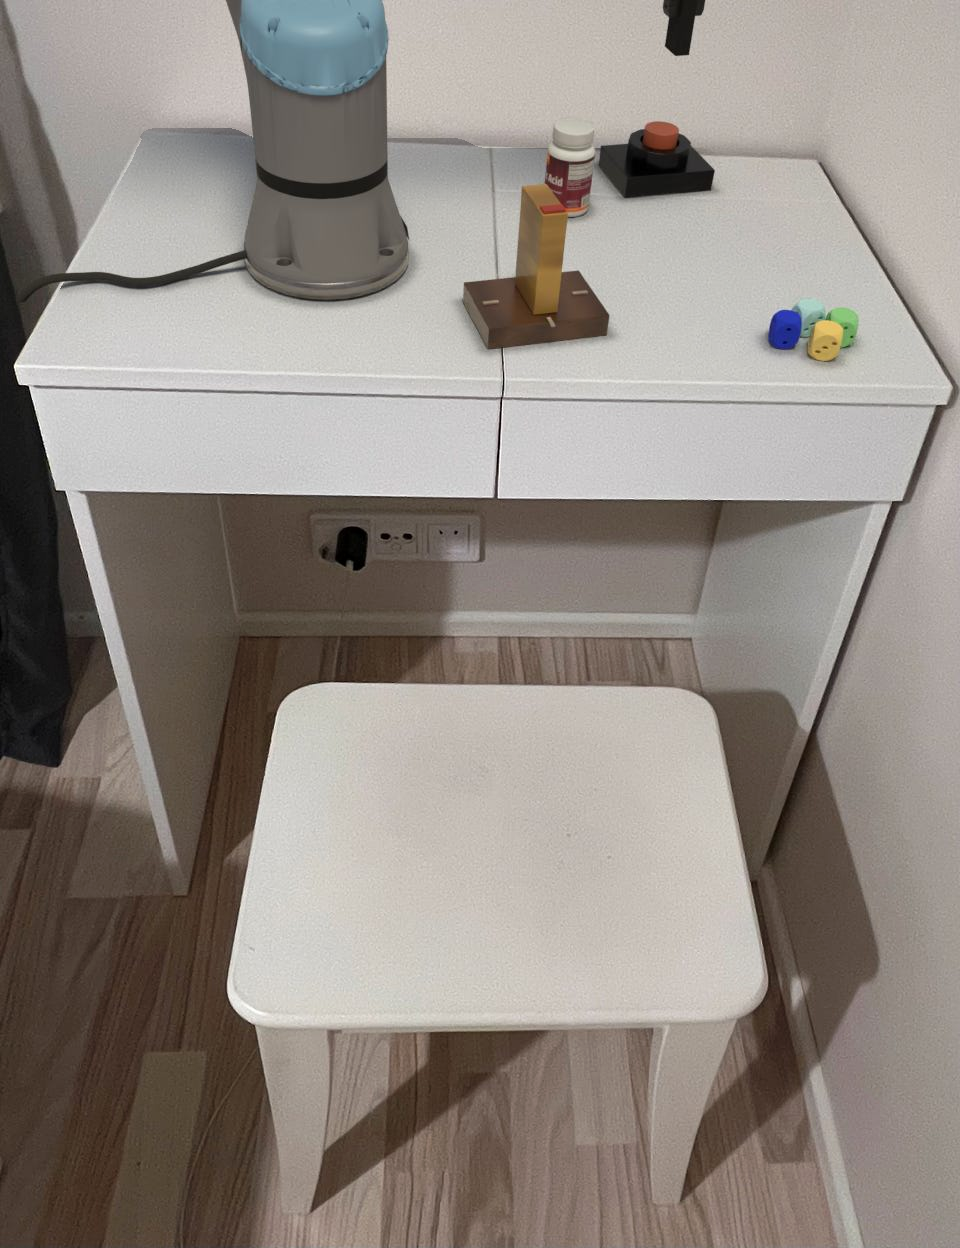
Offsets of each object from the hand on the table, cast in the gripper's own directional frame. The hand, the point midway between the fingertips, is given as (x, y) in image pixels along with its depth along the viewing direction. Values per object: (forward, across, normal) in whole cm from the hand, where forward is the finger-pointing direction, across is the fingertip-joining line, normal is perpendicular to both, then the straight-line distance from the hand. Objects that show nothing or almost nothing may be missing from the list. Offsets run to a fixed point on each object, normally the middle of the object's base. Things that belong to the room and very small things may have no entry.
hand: (676, 50), depth 112 cm
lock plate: (+13, -22, -25) cm, 36 cm away
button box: (+13, 0, 0) cm, 13 cm away
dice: (+12, +1, -31) cm, 33 cm away
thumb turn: (+11, -22, -25) cm, 35 cm away
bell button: (+9, 0, 0) cm, 9 cm away
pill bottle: (+13, -12, -5) cm, 19 cm away
